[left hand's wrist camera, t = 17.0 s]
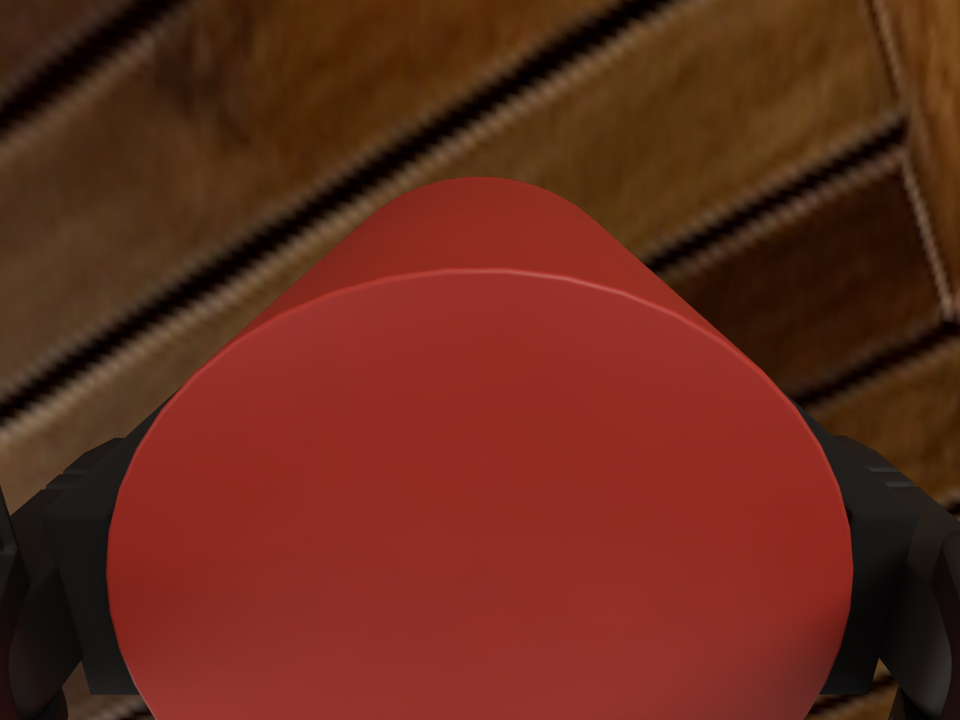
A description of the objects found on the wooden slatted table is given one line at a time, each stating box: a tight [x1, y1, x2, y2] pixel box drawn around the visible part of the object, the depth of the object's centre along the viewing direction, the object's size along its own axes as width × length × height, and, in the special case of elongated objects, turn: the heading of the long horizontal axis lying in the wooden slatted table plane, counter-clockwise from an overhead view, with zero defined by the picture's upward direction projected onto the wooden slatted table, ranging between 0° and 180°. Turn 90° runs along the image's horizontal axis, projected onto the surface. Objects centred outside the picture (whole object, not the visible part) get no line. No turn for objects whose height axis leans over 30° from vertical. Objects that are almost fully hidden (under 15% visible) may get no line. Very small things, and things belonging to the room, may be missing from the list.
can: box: [106, 177, 853, 720], centre depth 12 cm, size 8×8×10 cm
